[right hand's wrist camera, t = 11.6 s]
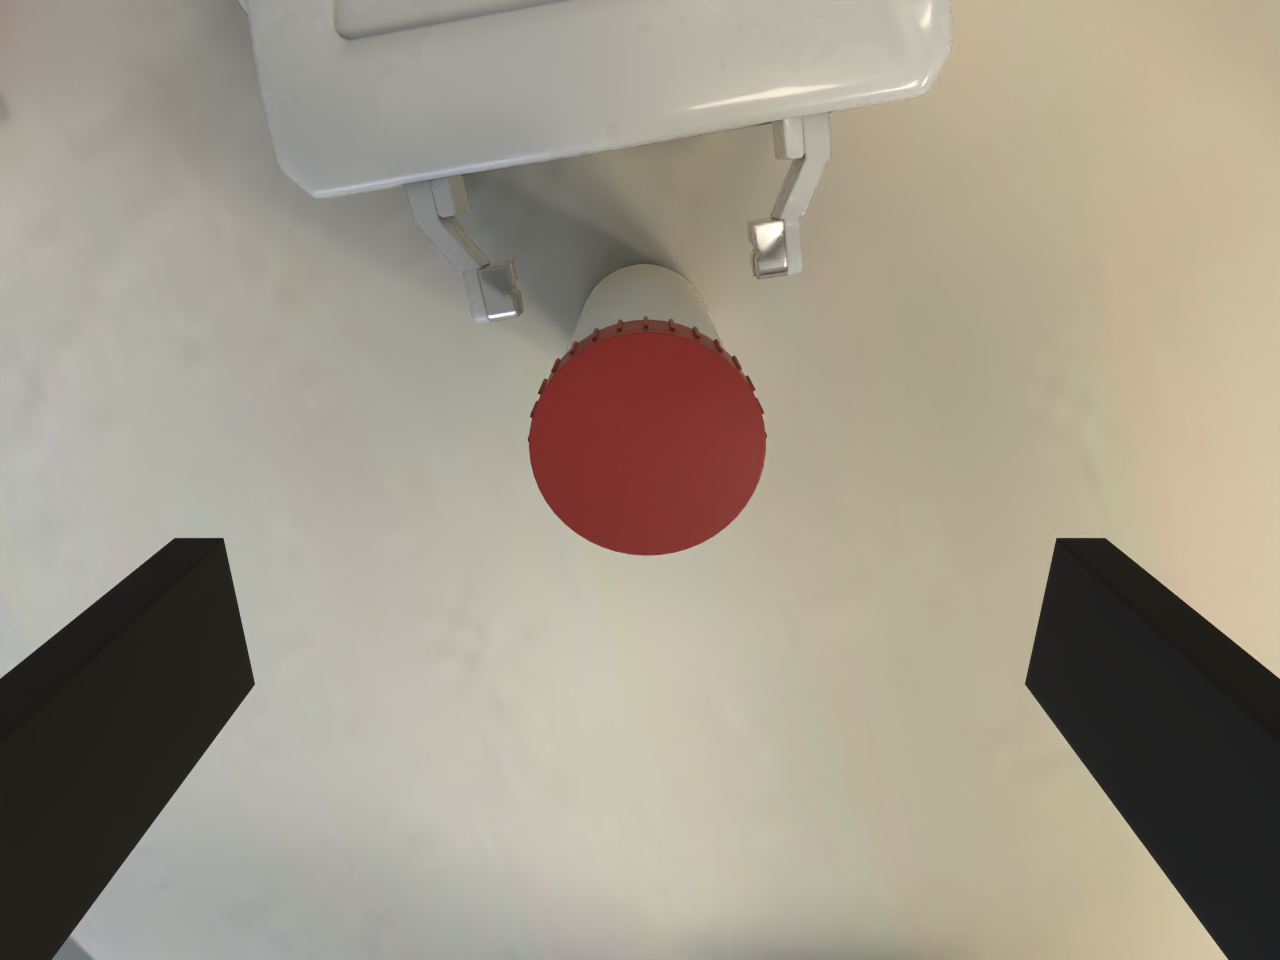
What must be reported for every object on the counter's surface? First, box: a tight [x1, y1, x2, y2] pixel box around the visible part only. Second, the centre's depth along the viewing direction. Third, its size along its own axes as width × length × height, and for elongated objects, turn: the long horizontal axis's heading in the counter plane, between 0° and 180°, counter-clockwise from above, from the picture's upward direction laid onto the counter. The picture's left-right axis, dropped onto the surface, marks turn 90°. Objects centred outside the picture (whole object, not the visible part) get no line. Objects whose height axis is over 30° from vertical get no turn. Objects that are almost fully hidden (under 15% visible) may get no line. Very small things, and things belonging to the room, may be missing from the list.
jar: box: [565, 264, 725, 354], centre depth 27 cm, size 6×6×15 cm
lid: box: [528, 317, 767, 555], centre depth 20 cm, size 6×6×2 cm
